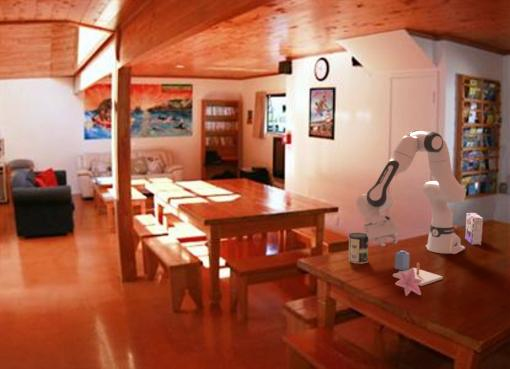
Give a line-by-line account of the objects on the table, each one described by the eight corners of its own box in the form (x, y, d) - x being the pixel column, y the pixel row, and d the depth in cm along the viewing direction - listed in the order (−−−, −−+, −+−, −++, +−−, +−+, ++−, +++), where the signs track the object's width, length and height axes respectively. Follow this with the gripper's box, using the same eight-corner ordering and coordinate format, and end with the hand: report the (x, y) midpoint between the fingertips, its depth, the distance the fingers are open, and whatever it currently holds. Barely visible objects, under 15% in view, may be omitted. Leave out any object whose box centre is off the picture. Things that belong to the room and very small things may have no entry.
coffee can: (367, 258, 262) (368, 232, 260) (368, 264, 252) (369, 237, 250) (348, 257, 264) (348, 232, 262) (348, 263, 254) (348, 237, 252)
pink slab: (413, 270, 243) (414, 256, 242) (442, 278, 230) (443, 264, 229) (392, 276, 234) (393, 262, 233) (421, 286, 221) (421, 270, 220)
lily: (390, 296, 212) (398, 281, 207) (391, 277, 222) (399, 263, 216) (417, 305, 211) (425, 291, 205) (417, 287, 220) (425, 272, 215)
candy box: (464, 238, 301) (466, 212, 298) (474, 239, 300) (476, 212, 297) (471, 244, 287) (472, 217, 285) (481, 245, 286) (483, 217, 284)
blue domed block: (401, 266, 248) (401, 249, 247) (408, 268, 245) (409, 251, 243) (394, 268, 246) (395, 251, 244) (402, 270, 242) (403, 253, 240)
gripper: (365, 221, 248) (379, 244, 242) (392, 216, 260) (406, 238, 253) (358, 228, 252) (372, 250, 246) (385, 222, 264) (399, 244, 258)
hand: (390, 244), depth 250 cm, fingers open, 8 cm apart
